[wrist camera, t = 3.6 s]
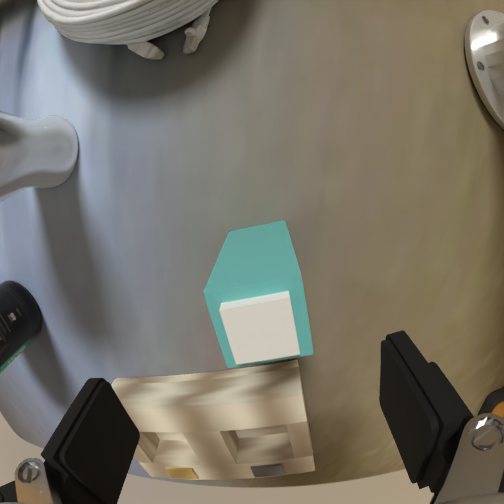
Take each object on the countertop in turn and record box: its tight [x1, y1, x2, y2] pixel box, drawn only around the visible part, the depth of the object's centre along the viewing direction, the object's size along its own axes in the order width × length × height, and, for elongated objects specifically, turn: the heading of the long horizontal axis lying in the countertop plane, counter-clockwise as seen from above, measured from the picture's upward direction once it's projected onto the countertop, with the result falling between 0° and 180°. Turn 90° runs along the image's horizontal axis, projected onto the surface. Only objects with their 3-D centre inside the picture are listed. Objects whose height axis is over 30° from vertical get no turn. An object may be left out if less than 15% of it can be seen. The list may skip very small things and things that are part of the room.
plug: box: [203, 220, 314, 368], centre depth 17 cm, size 4×4×11 cm
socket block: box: [111, 360, 315, 480], centre depth 26 cm, size 18×12×5 cm, turn 102°
